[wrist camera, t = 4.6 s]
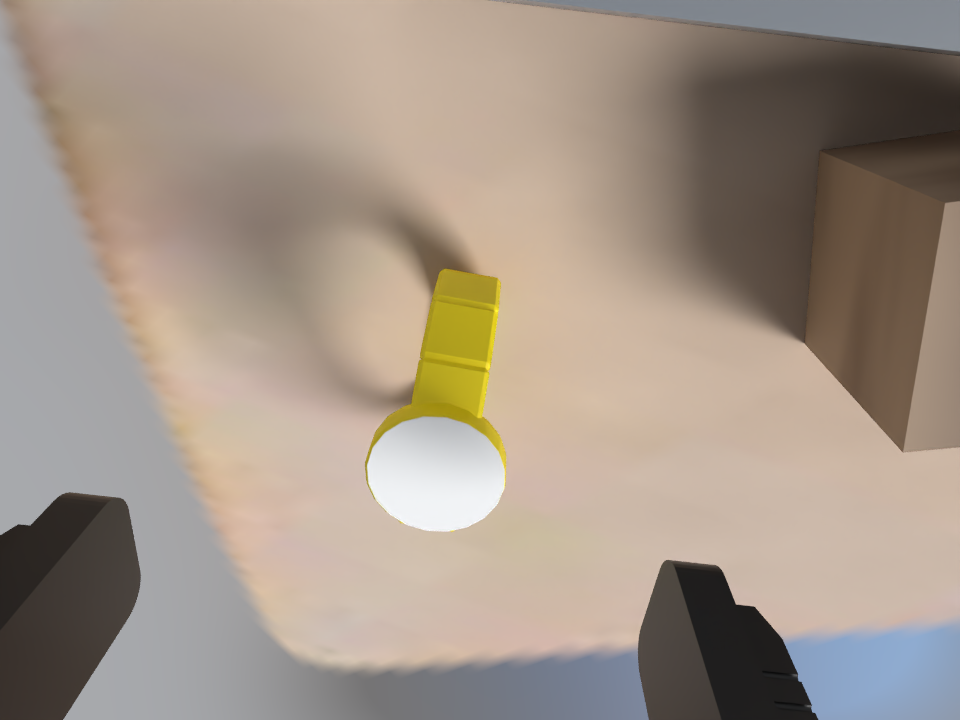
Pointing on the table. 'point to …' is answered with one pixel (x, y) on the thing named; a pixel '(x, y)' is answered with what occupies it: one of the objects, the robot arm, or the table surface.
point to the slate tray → (802, 18)
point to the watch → (445, 417)
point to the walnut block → (891, 283)
